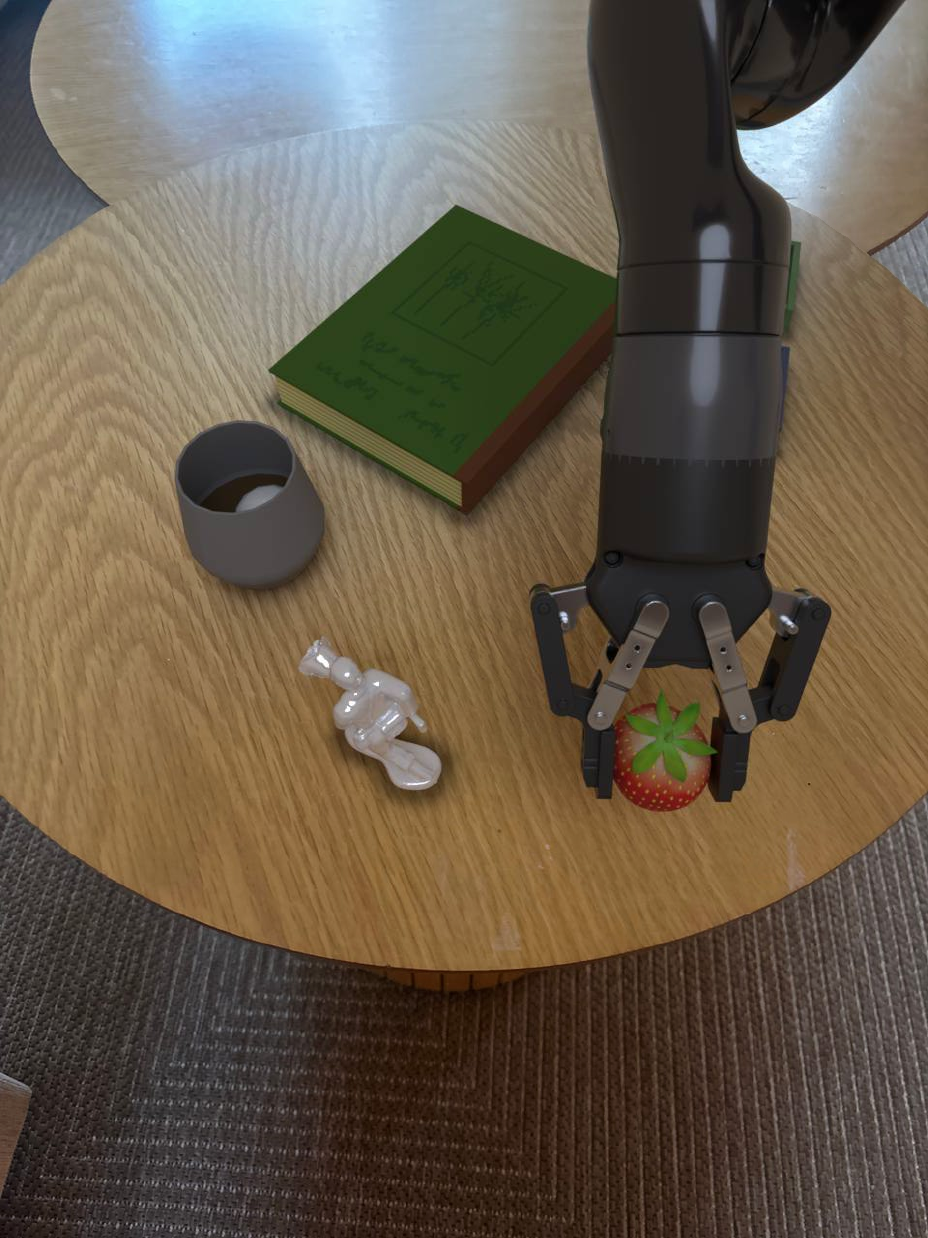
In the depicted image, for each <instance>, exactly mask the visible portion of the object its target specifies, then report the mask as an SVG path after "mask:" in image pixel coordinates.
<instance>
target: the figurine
mask: <svg viewBox="0 0 928 1238" xmlns="http://www.w3.org/2000/svg"><path fill="white" fill-rule="evenodd" d="M320 636H321V637H320V639H316V640H314V642H313V645H311V646H309V648H308V649H307V651H306V654H305V655H304V656H303V657H302V659H301V661H300V665H299V666H298V667H297V668H298V671H299V672H300V673H301V674H303V675H304V676H310V677H312V676H315V677H319V678H322V679H329V680H331V681H332V682H333V683H334V684H336V686H337V687H339V688H341V689H343V690H345V691H344V692H343V693H342V694H341V696H340V698H339V700H338V701H337V702H336V704H335V705H334V707H333V709H332V719H333V723H334V726H335V727H336V728H337V729H339V730H340V731H344V736H345V740H346V742H347V743H348V744H349V745H350V746H351V748H353V749H354V750H355V751H357V752H359V753H361V754H364V755H366V756H367V757H371V758H373V759H375V760H378V761H380V762H381V763H382V764H383V766H384V767H385V770H386V773H387V775H388V777H389V779H390V781H391V783H393V785H395V787H397V788H399V789H403V790H408V791H422V790H428V789H429V788H431V787H432V786H434V785H435V784H438V780H439V778H440V775H441V773H442V765H443V764H442V760H441V758H440V756H439V755H438V754H437V753H436V752H435V751H433V750H432V749H430V748H429V747H427V746H424V745H422V744H417V743H413V742H409V741H405V740H401V739H398V738H396V737H397V736H399V735H400V734H401V733H402V732H403V731H404V730H405V729H406V727H407V726H408V724H409V721H408V718H409V720H410V721H411V722H412V723H413V724H414V726H415V728H417V729H418V731H419V732H420V733H422V734H425V733H426V732H428V726H427V724H426V722H425V720H423V718H421V717H420V716H419V715H418V714H417V712H418V710H419V702H418V700H417V698H416V697H415V694H414V692H413V690H412V688H411V686H410V685H408V683H406V682H405V681H403V680H401V679H399V678H398V677H395V676H393V675H392V674H390V673H388V672H387V671H384V670H382V669H379V668H374V667H372V668H367V669H365V670H364V671H363V672H362V671H361V669H360V667H359V666H358V664H357V663H356V662H355V661H354V660H353V659H352V658H350V657H348V656H345V655H343V656H339V654H337V652H335V651H334V650H333V649H332V643H331V642H330V641H329V639H328V637H326V635H320Z"/></svg>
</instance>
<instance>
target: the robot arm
mask: <svg viewBox="0 0 928 1238" xmlns="http://www.w3.org/2000/svg"><path fill="white" fill-rule="evenodd" d="M906 1H907V0H589V5H588V14H587V23H586V62H587V72H588V73H587V74H588V81H589V87H590V94H591V98H592V99H591V100H592V105H593V110H594V115H595V121H596V126H597V131H598V136H599V142H600V147H601V152H602V159H603V163H604V170H605V176H606V181H607V187H608V191H609V196H610V201H611V205H612V209H613V215H614V218H615V224H616V229H617V236H618V237H617V238H618V251H617V252H618V254H617V263H616V264H617V265H616V271H617V272H616V298H615V316H614V335H615V336H617V337H615V338H614V339H613V346H612V353H611V354H610V360H609V365H608V369H607V370H608V371H607V374H606V375H607V376H606V381H605V389H604V397H603V414H602V418H601V420H600V425H599V429H600V430H599V436H600V439H601V455H600V475H599V491H598V492H599V494H598V511H597V513H598V514H597V529H596V530H597V531H596V549H595V550H596V551H595V556H594V560H593V562H592V564H591V566H590V568H589V570H588V572H587V573H586V575H585V577H584V580H583V581H581V582H575V583H571V584H565V585H560V586H555V587H551V586H550V585H549V584H546V583H544V582H543V583H542V582H541V583H540V582H539V583H536V584H534V585H533V586H532V587H531V588H530V589H529V591H528V601H529V607H530V612H531V613H530V614H531V618H532V622H533V628H534V632H535V639H536V643H537V649H538V653H539V659H540V664H541V669H542V674H543V678H544V684H545V690H546V693H547V698H548V703H549V708H550V711H551V712H552V713H553V715H555V716H557V717H560V718H561V717H563V718H565V717H569V718H572V719H576V720H577V721H578V722H580V723H581V725H582V727H581V742H580V743H581V744H580V765H579V766H580V770H581V774H582V778H583V782H584V784H585V786H586V788H593V791H594V795H595V798H596V800H612V798H613V788H614V787H613V785H614V780H613V772H614V756H615V739H616V731H615V728H614V725H615V724H614V723H613V722H614V721H615V718H616V716H617V714H618V712H619V710H620V708H621V706H622V703H623V702H624V699H625V697H626V695H627V694H628V693H629V692H631V690H632V689H633V688H634V686H635V684H636V683H637V680H638V678H639V675H640V673H641V671H642V669H660V668H665V667H669V666H674V665H677V666H681V667H683V668H688V669H690V670H691V669H692V670H705V671H706V673H707V674H706V675H708V678H709V681H710V684H711V687H712V691H713V694H714V696H715V700H716V703H717V706H718V716H712V717H711V718H712V720H711V731H710V739H709V740H710V741H709V746H710V747H712V748H713V749H715V750H716V751H717V753H713V754H711V758H712V760H711V771H710V775H709V779H708V782H707V784H706V786H707V789H708V792H709V793H710V795H711V797H712V799H713V801H714V802H715V803H732V801H733V795H734V794H733V793H734V792H742V790H743V788H744V786H745V784H746V783H747V777H748V776H747V774H748V765H749V764H748V763H749V756H750V747H751V737H752V734H753V731H754V730H755V729H756V728H757V727H758V726H759V725H761V724H763V723H764V724H765V723H767V722H770V721H774V720H775V721H777V722H780V723H781V722H782V723H784V722H789V721H790V720H792V719H793V718H794V717H795V716H796V714H797V712H798V708H799V706H800V703H801V700H802V698H803V695H804V692H805V690H806V686H807V684H808V681H809V678H810V676H811V673H812V670H813V667H814V664H815V661H816V659H817V656H818V654H819V650H820V648H821V645H822V643H823V640H824V637H825V634H826V631H827V630H828V629H827V628H828V625H829V623H830V620H831V618H832V607H831V606H830V604H829V603H828V602H826V601H825V600H824V599H822V598H821V597H820V596H818V595H817V594H816V593H815V592H812V591H810V590H808V589H806V588H803V587H798V588H796V589H794V590H791V589H786V588H782V587H778V586H773V584H772V583H771V580H770V578H769V576H768V574H767V570H766V565H765V564H766V555H767V548H768V538H769V529H770V520H771V519H770V518H771V509H772V499H773V489H774V482H775V481H774V480H775V471H776V461H777V454H778V453H777V452H778V441H779V435H778V434H780V433H779V424H780V414H781V405H782V364H781V348H782V347H783V339H782V338H781V336H783V335H784V334H783V325H784V315H785V305H786V296H787V286H788V276H789V270H788V268H789V266H790V253H791V241H792V226H793V225H792V216H791V210H790V208H789V205H788V202H787V201H786V199H785V197H784V196H783V195H782V194H781V193H780V192H778V191H777V190H776V189H775V188H774V187H772V186H771V185H770V184H768V183H767V182H765V181H764V180H763V179H761V178H760V177H759V176H758V175H756V174H755V173H754V172H753V171H752V170H751V169H750V168H749V166H748V165H747V163H746V161H745V159H744V157H743V155H742V152H741V147H740V143H739V142H740V141H739V135H738V131H742V132H743V131H745V132H746V131H747V132H748V131H749V132H750V131H760V130H764V129H768V128H771V127H774V126H777V125H780V124H781V123H785V122H786V121H788V120H791V119H793V118H794V117H796V116H798V115H799V114H801V113H803V112H804V111H806V110H807V109H809V108H810V107H811V106H813V105H814V104H816V103H818V101H820V100H821V99H822V98H824V97H825V96H826V95H827V94H829V93H830V92H831V91H832V90H833V89H834V88H835V87H836V86H837V85H839V83H841V81H842V80H843V79H844V78H845V77H846V76H847V75H848V74H849V73H850V72H851V70H853V68H855V65H857V63H858V62H859V61H860V60H861V58H862V57H863V56H864V55H865V53H866V52H867V51H868V50H869V48H870V47H871V46H872V44H873V43H874V42H875V41H876V40H877V38H878V37H879V36H880V34H881V33H882V32H883V31H884V29H885V28H886V27H887V25H888V24H889V23H890V22H891V20H892V19H893V18H894V17H895V15H896V14H897V12H898V11H899V10H900V8H902V6H903V5H904V4H905V2H906ZM586 606H589V607H590V609H591V610H592V611H593V613H594V614H595V616H596V617H597V619H598V620H599V622H600V623H601V624H602V626H603V627H604V629H605V630H606V631H607V633H608V637H607V639H606V641H605V643H604V645H603V648H602V649H601V651H600V654H599V656H598V659H597V663H596V664H597V665H596V668H595V670H594V672H593V674H592V676H591V679H590V680H589V683H588V684H587V687H586V686H583V685H580V684H578V683H575V682H572V681H573V680H572V677H571V672H570V667H569V660H568V655H567V650H566V646H565V639H564V635H565V634H569V633H571V632H573V631H574V630H575V629H576V627H577V624H578V615H579V612H580V611H581V610H582V609H583V608H585V607H586ZM767 610H769V619H768V620H769V626H770V627H771V629H772V630H773V631H774V632H775V634H774V636H773V640H772V642H771V645H770V648H769V650H768V654H767V656H766V659H765V662H764V666H763V668H762V672H761V675H760V677H759V679H758V683H757V686H756V687H752V688H749V689H748V685H749V684H748V679H747V676H746V673H745V669H744V666H743V663H742V660H741V656H740V653H739V650H738V647H737V644H738V643H739V641H740V640H741V639H742V638H743V637H744V636H745V634H746V633H747V632H748V631H749V630H750V629H751V628H752V626H754V624H755V623H756V622H757V621H758V620H759V618H760V617H761V616H762V615H763V614H764V613H765V612H766V611H767Z"/></svg>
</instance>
